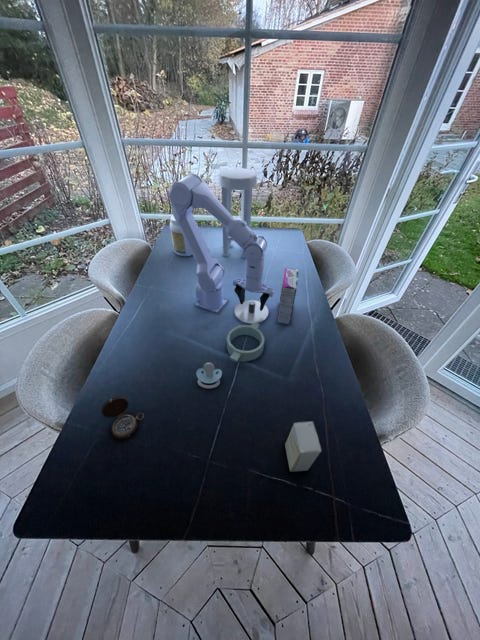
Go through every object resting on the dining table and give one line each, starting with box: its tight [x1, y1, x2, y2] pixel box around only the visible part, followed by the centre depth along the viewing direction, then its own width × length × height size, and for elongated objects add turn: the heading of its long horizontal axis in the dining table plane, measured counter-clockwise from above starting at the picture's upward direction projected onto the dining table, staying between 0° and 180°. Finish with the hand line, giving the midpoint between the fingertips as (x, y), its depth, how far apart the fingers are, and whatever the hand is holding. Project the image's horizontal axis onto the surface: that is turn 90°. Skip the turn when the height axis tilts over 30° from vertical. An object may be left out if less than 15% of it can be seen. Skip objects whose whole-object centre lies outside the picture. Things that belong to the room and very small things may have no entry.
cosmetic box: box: [284, 420, 322, 473], centre depth 58 cm, size 6×4×12 cm
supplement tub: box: [169, 214, 193, 257], centre depth 124 cm, size 12×12×17 cm
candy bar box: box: [276, 267, 299, 325], centre depth 92 cm, size 11×5×16 cm, turn 168°
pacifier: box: [196, 362, 223, 389], centre depth 74 cm, size 7×6×6 cm
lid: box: [233, 299, 270, 325], centre depth 96 cm, size 13×13×5 cm
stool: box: [217, 167, 258, 259], centre depth 118 cm, size 16×16×35 cm
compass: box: [100, 396, 145, 440], centre depth 64 cm, size 8×8×7 cm
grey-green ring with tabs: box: [226, 322, 265, 363], centre depth 84 cm, size 12×17×4 cm
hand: (252, 305), depth 95 cm, fingers open, 7 cm apart
